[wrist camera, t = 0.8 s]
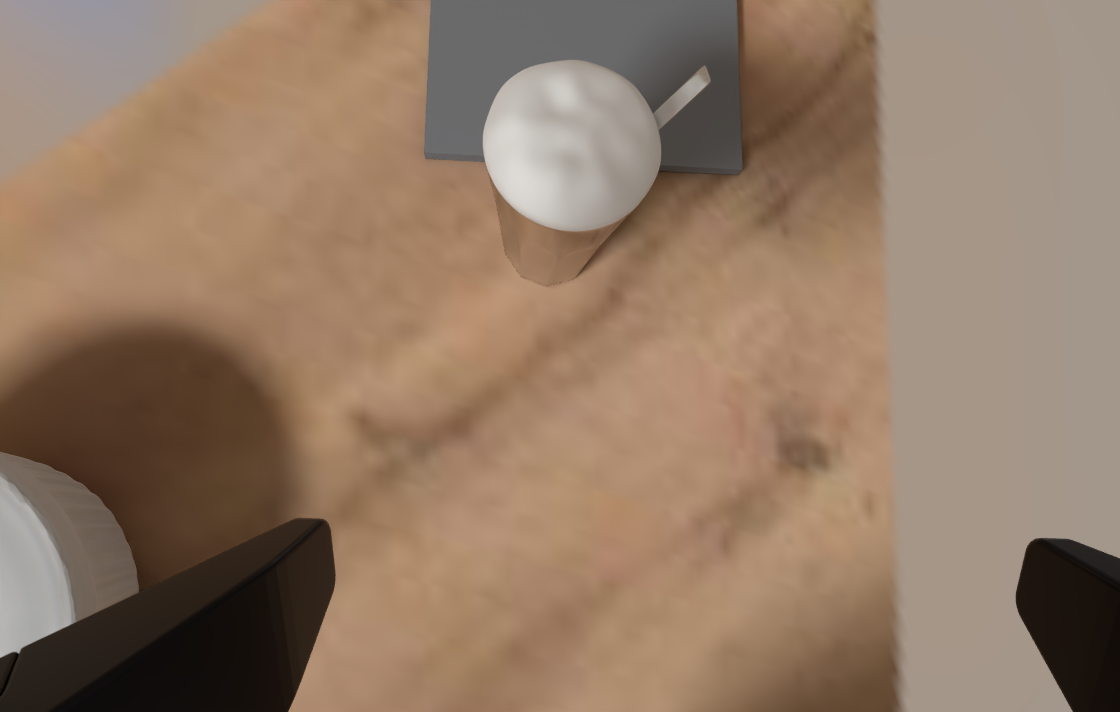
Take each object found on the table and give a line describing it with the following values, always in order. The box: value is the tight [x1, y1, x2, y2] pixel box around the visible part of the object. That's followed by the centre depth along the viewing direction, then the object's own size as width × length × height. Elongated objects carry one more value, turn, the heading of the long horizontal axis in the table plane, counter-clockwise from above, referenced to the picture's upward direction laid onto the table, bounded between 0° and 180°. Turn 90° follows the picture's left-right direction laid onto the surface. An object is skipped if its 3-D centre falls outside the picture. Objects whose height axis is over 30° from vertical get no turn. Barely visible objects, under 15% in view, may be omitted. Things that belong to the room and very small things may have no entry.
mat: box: [424, 0, 743, 175], centre depth 26 cm, size 11×12×1 cm
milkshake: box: [483, 60, 711, 287], centre depth 20 cm, size 5×5×10 cm
